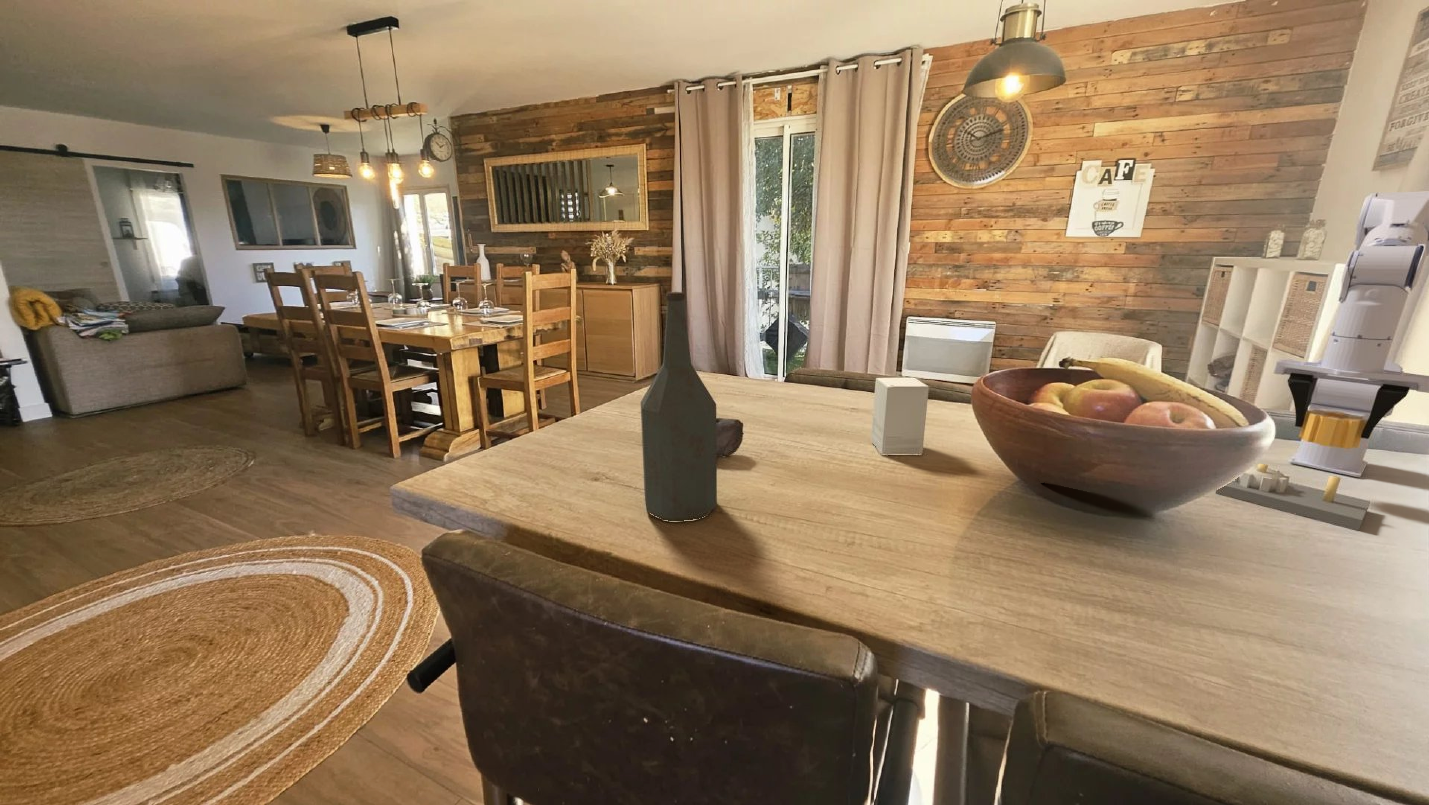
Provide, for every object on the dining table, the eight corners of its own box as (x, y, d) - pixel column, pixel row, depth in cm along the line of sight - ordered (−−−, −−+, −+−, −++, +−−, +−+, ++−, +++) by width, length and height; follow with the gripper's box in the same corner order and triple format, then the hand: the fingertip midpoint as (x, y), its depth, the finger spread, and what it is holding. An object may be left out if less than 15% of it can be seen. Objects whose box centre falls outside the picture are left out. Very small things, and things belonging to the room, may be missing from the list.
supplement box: (923, 456, 96) (930, 386, 92) (880, 456, 96) (886, 386, 93) (909, 442, 103) (915, 376, 100) (869, 442, 103) (874, 376, 100)
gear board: (1231, 478, 86) (1239, 448, 85) (1366, 511, 75) (1378, 477, 74) (1215, 493, 81) (1223, 461, 79) (1358, 530, 70) (1370, 494, 69)
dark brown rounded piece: (655, 457, 96) (654, 420, 94) (664, 447, 101) (663, 411, 99) (739, 463, 93) (739, 425, 91) (744, 453, 98) (744, 416, 96)
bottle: (630, 507, 77) (619, 292, 69) (680, 486, 84) (675, 287, 76) (680, 532, 71) (674, 296, 63) (730, 506, 78) (731, 291, 69)
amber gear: (1302, 432, 83) (1310, 407, 82) (1360, 443, 78) (1369, 416, 77) (1295, 440, 79) (1303, 414, 78) (1355, 451, 75) (1364, 423, 74)
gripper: (1280, 333, 78) (1255, 423, 82) (1446, 346, 67) (1408, 451, 71) (1290, 329, 82) (1266, 415, 86) (1448, 341, 71) (1412, 440, 75)
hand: (1331, 431), depth 78 cm, fingers closed on amber gear, 6 cm apart
